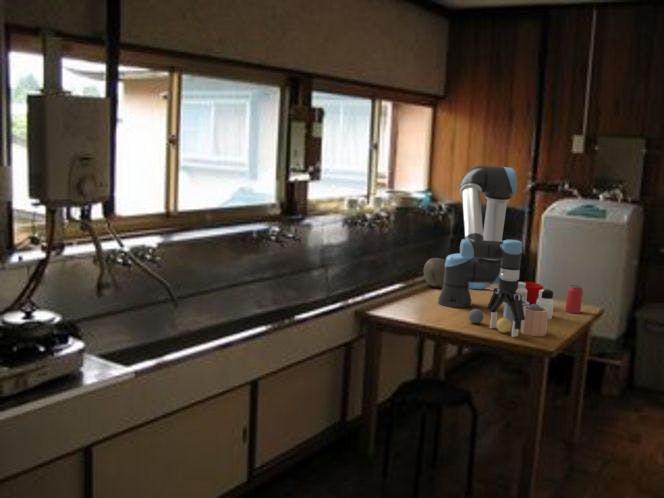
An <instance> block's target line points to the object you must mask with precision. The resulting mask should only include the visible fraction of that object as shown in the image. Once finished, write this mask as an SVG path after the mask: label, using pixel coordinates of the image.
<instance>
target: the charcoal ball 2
mask: <svg viewBox="0 0 664 498" xmlns="http://www.w3.org/2000/svg"><path fill="white" fill-rule="evenodd" d="M527 309H528V310H533V311H542V309H541V307H540V306H539V305H537V304H531V305H530V306H528V308H527Z"/></svg>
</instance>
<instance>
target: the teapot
mask: <svg viewBox="0 0 664 498" xmlns="http://www.w3.org/2000/svg"><path fill="white" fill-rule="evenodd" d="M488 286H489V284H483V283H469V290H470V289H471V290H485V289H486V288H488Z"/></svg>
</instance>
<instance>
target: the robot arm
mask: <svg viewBox="0 0 664 498" xmlns="http://www.w3.org/2000/svg"><path fill="white" fill-rule="evenodd" d="M458 189H459V195H460V196H461V197H462V215H463V227H464V228H463V230H464V231H463V233H464V238H462V239H461V241H460V245H459V253H458V252H457V253H452V254H449V255H447V256H446V258H445V260H446V262H445V274H444V285H443V287H442V289H441V292H440V294H439V295H438V299H437V303H438V304H439V305H442V306H445V307H450V308H457V309H459V308H460V309H461V308H470V307H471V306H472V303H473V302H472V297H471V292H470V288H469V283H483V284H488V285H497V287H495V288H493V291H492V292H493V293H492V295H491V296H490V297H491V298H490V299H489V302H488V305H487V306H486V309H487V310H489V313H490V314H489V319H490V324H489V328H490V329H497V322H498V314H499V313H498V310H499V308H500V307H501V306H502V304H503V303H504V302H506V303H508V305H509V306H510V308H511V311H512V314H513V316H514V320H513V325H512V328H511V335H510V336H511V337H512V338H515V337H518V336H519V330H520V329H521V328H520V321H521V320H525V316H524V311H523V305H522V295H516V290H517V289H518V282H519V281H518V280H520V270H521V261H522V253H523V242H522V241H520V240H517V239H505V240H503V233H504V227H505V219H506V212H507V211H506V210H507V206H508V205H507V204H508V202H509V201H511V199H512V195H513V196H514V195H516V193H517V189H518V180H517V174H516V171H515V169H514V168H513V167H507V166H506V167H505V166H497V165H495V166H492V165H491V166H490V165H476V166H473V167H471V168H470V169H468V170H467V171H466V172H465V174H464V175H463V176H462V178H461V179H460V183H459V188H458ZM482 193H484V194H483V195H484V196H483V197H485V199H486V200H487V201H486V207H485V208H486V209H485V217H484V224H483V215H482V204H481V202H482V201H481V195H482ZM517 317H518V318H517Z"/></svg>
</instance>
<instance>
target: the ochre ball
mask: <svg viewBox="0 0 664 498" xmlns="http://www.w3.org/2000/svg"><path fill="white" fill-rule="evenodd" d="M496 329H497V330H498V332H500V333H502V334H505V333H509V332H511V331H512V323H511V321H510V320H509V319H508V318H503V317H500V318H499V319H497V324H496Z"/></svg>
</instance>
